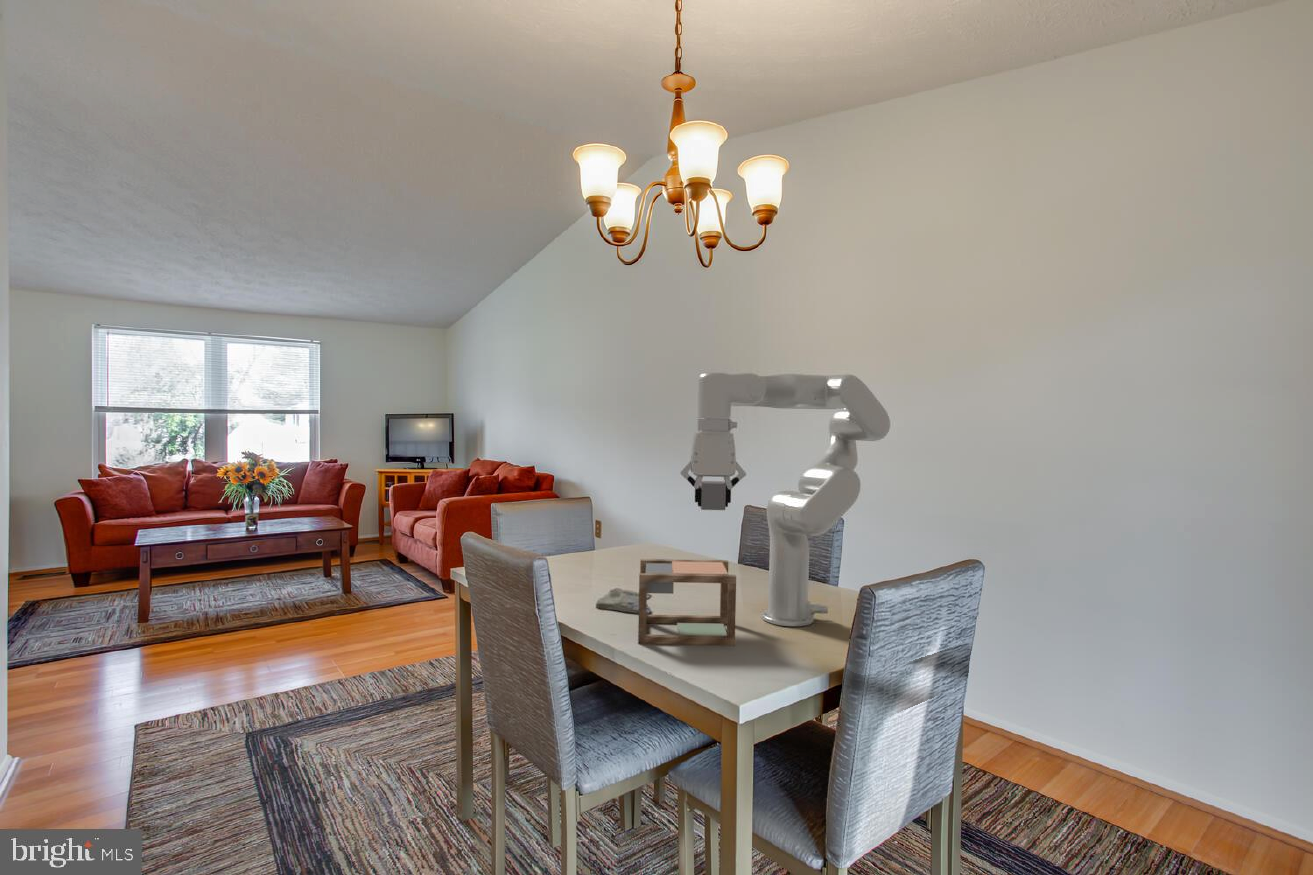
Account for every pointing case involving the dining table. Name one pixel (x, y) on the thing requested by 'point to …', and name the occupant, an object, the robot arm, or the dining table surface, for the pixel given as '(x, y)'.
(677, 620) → the stand
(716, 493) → the grey block
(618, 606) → the fossil rock
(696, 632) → the mat
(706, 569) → the trapdoor
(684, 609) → the dining table surface
